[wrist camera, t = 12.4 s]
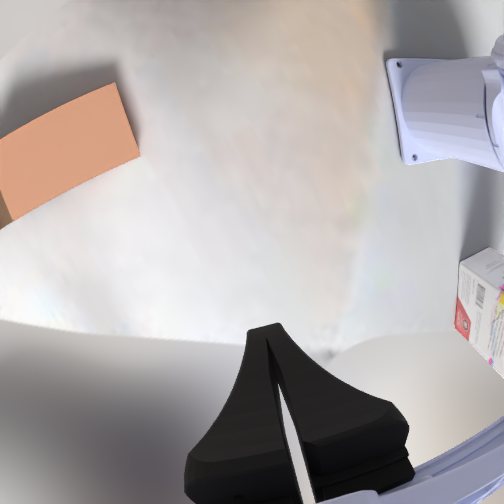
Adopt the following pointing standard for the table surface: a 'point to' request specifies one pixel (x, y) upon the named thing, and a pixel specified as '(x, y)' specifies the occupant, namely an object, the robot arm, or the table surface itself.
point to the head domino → (64, 149)
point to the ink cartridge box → (483, 305)
